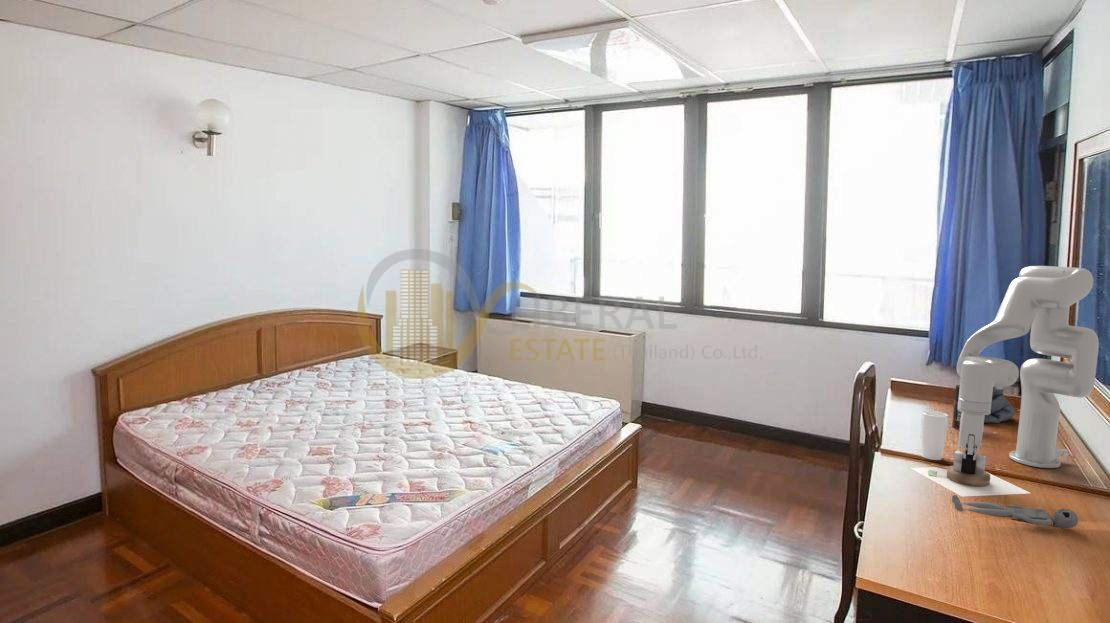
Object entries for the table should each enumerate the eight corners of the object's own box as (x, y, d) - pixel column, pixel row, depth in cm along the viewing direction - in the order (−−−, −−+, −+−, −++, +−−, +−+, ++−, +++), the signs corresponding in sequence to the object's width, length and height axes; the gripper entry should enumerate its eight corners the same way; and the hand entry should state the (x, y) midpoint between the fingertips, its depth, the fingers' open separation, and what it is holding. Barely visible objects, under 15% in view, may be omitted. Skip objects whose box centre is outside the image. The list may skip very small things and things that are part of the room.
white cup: (947, 466, 190) (952, 417, 188) (922, 464, 192) (927, 415, 190) (939, 458, 197) (943, 411, 195) (915, 456, 198) (919, 409, 196)
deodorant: (971, 427, 229) (975, 386, 227) (971, 431, 224) (975, 389, 222) (952, 424, 232) (955, 384, 230) (951, 428, 227) (955, 387, 225)
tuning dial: (991, 478, 177) (993, 453, 176) (987, 489, 169) (990, 463, 168) (933, 466, 185) (935, 442, 184) (927, 476, 178) (929, 451, 177)
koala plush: (949, 410, 251) (953, 361, 249) (999, 412, 249) (1004, 363, 246) (971, 423, 234) (976, 371, 232) (1025, 426, 232) (1030, 373, 229)
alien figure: (951, 489, 163) (1073, 504, 153) (950, 508, 164) (1071, 523, 154) (956, 501, 156) (1084, 517, 146) (955, 520, 157) (1082, 538, 146)
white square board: (972, 470, 187) (972, 464, 187) (1030, 498, 167) (1031, 492, 167) (909, 473, 185) (909, 467, 184) (961, 502, 165) (962, 495, 165)
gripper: (958, 397, 182) (952, 459, 184) (957, 410, 169) (950, 477, 171) (990, 401, 178) (984, 465, 180) (991, 415, 165) (984, 483, 167)
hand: (968, 470), depth 176 cm, fingers closed on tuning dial, 2 cm apart
